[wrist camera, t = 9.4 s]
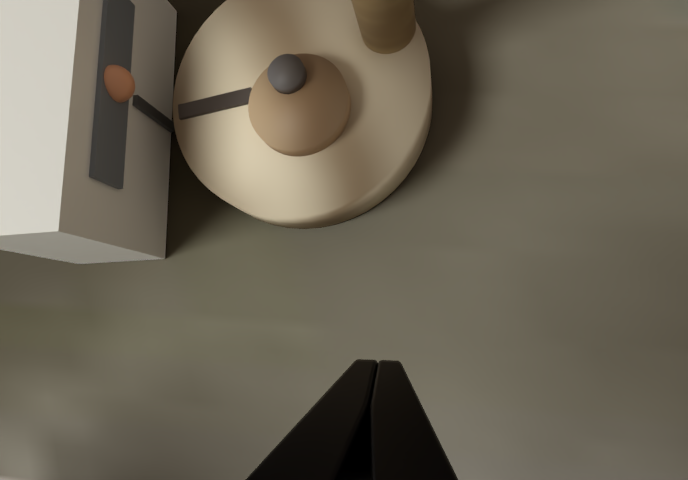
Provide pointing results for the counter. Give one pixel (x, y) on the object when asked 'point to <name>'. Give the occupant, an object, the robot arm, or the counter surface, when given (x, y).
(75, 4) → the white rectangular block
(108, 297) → the counter surface
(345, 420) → the robot arm
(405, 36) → the cam dial
